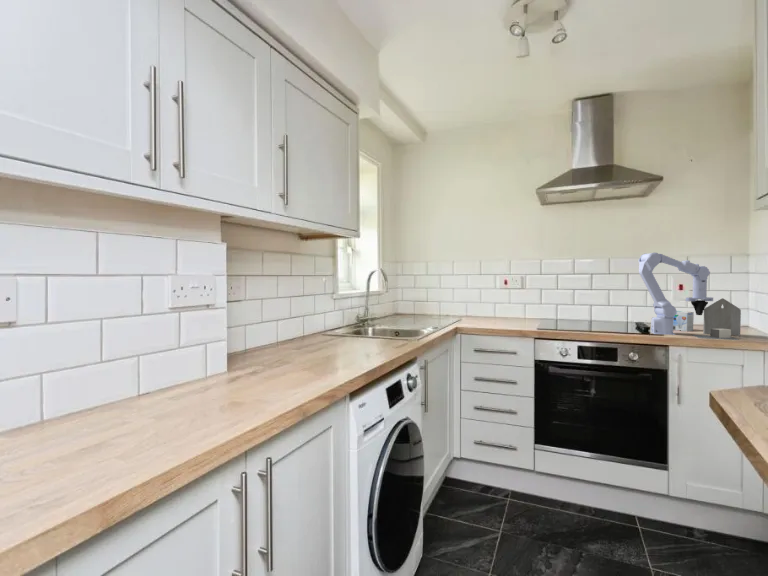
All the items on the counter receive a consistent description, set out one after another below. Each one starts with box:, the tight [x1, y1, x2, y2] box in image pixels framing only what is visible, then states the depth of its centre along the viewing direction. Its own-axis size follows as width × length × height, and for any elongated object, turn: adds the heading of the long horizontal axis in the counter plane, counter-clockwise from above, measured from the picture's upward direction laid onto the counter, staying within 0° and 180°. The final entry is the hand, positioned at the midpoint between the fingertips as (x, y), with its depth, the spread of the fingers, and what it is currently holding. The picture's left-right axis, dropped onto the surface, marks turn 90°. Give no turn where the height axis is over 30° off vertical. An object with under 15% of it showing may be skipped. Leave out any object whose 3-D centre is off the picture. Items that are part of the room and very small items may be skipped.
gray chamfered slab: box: [702, 298, 742, 337], centre depth 208 cm, size 16×8×19 cm, turn 77°
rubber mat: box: [691, 334, 740, 341], centre depth 195 cm, size 16×12×1 cm
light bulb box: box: [673, 310, 695, 332], centre depth 225 cm, size 11×7×11 cm, turn 27°
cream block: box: [710, 329, 732, 338], centre depth 195 cm, size 4×4×7 cm
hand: (699, 315), depth 206 cm, fingers closed
